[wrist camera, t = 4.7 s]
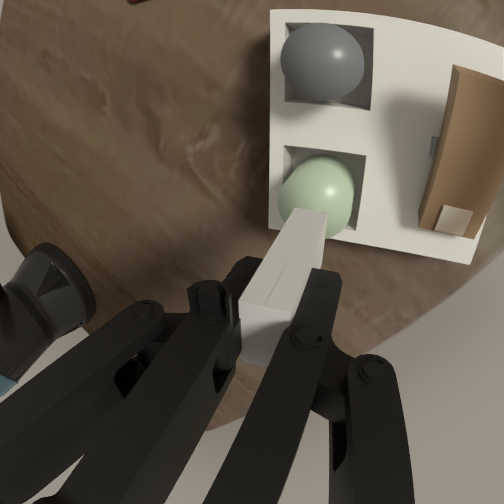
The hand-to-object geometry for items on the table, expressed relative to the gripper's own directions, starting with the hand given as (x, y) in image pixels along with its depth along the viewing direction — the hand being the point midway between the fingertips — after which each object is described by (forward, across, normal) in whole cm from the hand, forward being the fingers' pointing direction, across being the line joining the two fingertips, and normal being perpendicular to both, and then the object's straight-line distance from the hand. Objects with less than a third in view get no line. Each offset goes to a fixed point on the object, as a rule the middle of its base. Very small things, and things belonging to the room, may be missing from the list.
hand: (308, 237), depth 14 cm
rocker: (+5, +8, +4) cm, 10 cm away
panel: (+11, +4, +4) cm, 12 cm away
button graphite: (+8, 0, +8) cm, 11 cm away
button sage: (+8, 0, 0) cm, 8 cm away
